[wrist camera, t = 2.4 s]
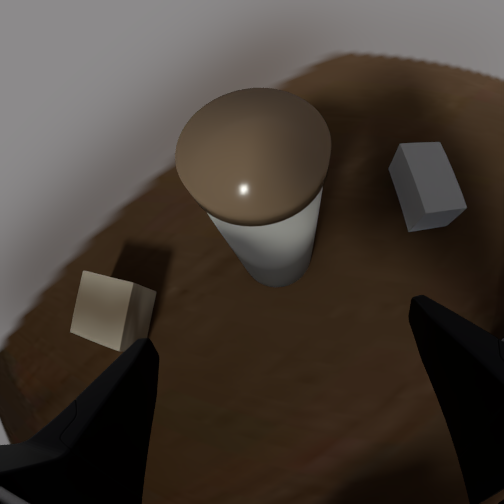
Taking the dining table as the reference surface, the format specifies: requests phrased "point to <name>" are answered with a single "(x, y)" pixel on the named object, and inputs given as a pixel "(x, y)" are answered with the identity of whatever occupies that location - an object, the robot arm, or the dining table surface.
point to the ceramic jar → (259, 177)
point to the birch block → (112, 311)
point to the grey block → (426, 186)
